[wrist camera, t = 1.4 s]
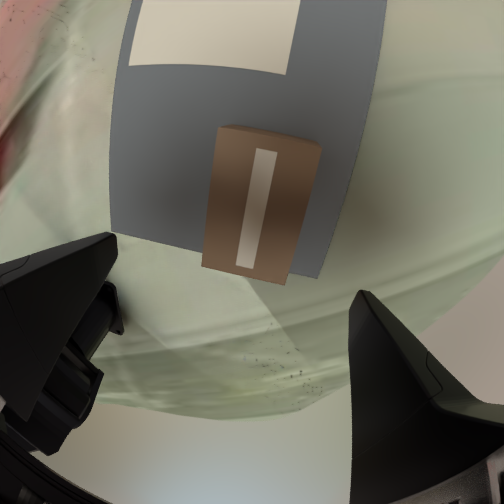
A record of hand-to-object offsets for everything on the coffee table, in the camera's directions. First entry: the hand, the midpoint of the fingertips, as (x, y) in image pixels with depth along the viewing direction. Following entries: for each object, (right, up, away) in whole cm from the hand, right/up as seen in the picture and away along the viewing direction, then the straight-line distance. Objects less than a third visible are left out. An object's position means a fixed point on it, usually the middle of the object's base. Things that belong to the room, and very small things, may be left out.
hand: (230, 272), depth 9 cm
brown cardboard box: (+1, +4, +7) cm, 9 cm away
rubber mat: (-1, +10, +5) cm, 11 cm away
